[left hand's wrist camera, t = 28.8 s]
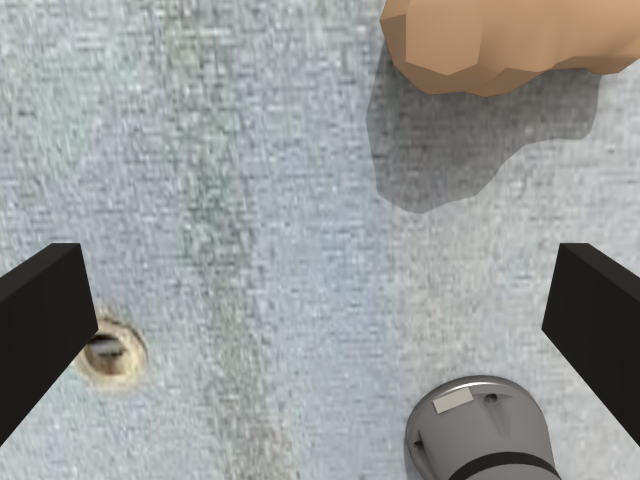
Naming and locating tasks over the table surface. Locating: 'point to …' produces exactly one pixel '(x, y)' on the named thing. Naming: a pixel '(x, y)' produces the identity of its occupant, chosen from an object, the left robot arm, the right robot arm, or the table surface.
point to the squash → (506, 40)
